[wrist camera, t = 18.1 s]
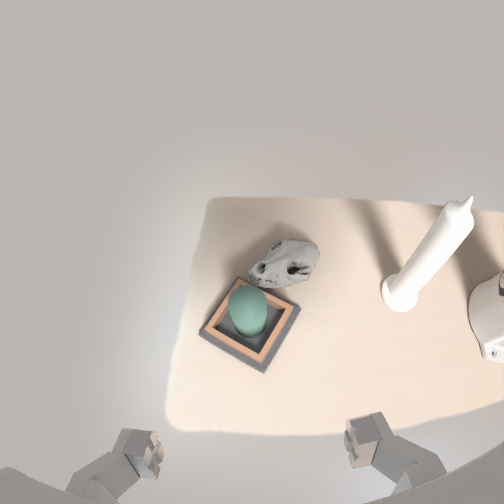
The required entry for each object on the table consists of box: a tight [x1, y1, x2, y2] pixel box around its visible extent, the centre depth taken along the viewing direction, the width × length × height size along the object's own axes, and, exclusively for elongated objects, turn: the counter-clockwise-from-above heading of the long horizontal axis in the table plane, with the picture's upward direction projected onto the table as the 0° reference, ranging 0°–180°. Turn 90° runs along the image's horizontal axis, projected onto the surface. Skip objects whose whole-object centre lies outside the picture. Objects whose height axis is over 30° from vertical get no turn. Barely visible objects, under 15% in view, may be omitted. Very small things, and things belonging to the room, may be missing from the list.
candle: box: [381, 196, 474, 312], centre depth 35 cm, size 7×7×25 cm
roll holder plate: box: [199, 277, 301, 374], centre depth 44 cm, size 12×12×3 cm
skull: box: [248, 240, 320, 288], centre depth 46 cm, size 8×9×12 cm
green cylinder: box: [228, 285, 267, 338], centre depth 41 cm, size 5×5×8 cm
